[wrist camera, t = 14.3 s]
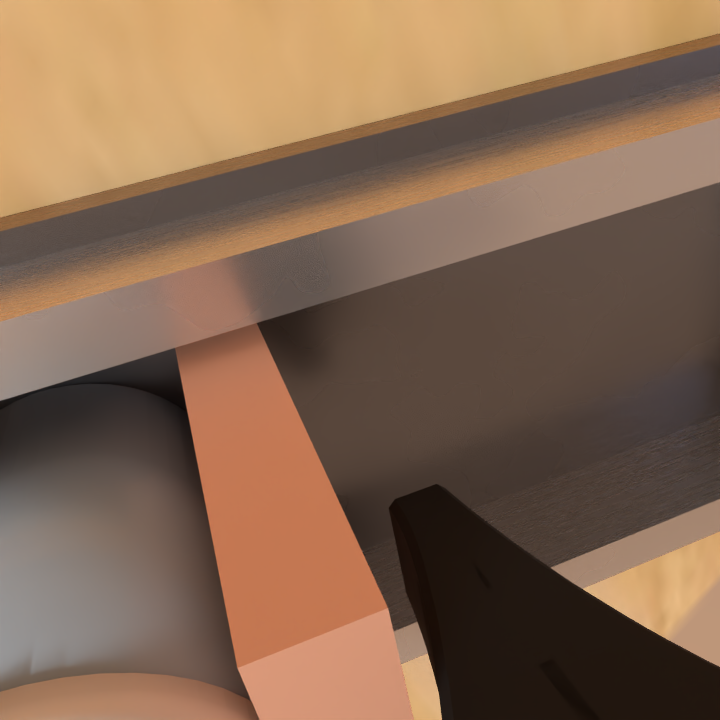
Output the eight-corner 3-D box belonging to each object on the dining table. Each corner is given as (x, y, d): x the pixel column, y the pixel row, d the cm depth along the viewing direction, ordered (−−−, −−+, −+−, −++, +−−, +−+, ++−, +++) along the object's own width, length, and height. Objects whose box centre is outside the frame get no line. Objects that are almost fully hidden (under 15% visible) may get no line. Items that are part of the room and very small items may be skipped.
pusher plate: (242, 291, 11) (388, 607, 5) (322, 566, 14) (466, 947, 9) (168, 312, 11) (236, 667, 5) (266, 588, 14) (376, 992, 8)
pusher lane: (852, -1, 13) (1192, -1, 9) (780, 411, 19) (979, 532, 14) (-440, 331, 9) (-888, 602, 5) (-76, 741, 14) (-151, 1047, 10)
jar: (172, 336, 11) (221, 661, 6) (264, 537, 14) (360, 899, 8) (-127, 446, 11) (-393, 928, 5) (26, 636, 13) (-42, 1098, 8)
